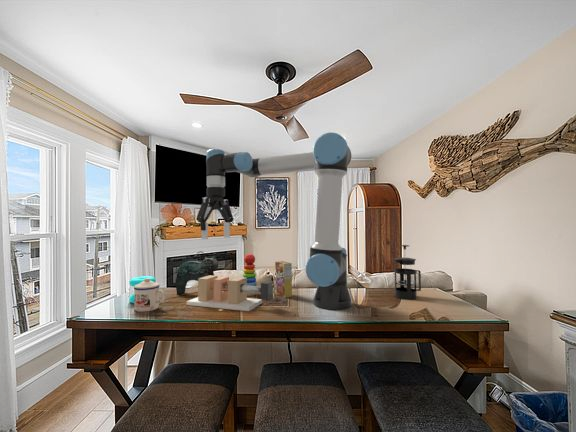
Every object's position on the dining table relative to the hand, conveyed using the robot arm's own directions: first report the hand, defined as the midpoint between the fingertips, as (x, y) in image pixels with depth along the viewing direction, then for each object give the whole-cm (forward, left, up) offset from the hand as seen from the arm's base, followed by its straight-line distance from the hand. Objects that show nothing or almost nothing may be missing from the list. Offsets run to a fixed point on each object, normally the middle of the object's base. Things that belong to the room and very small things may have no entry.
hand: (216, 238), depth 122 cm
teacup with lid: (+20, +15, -27) cm, 37 cm away
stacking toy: (-6, -18, -27) cm, 33 cm away
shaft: (-14, 0, -23) cm, 27 cm away
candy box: (-22, -21, -27) cm, 41 cm away
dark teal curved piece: (+18, -11, -27) cm, 35 cm away
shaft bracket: (-4, 0, -27) cm, 27 cm away
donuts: (+32, +7, -27) cm, 43 cm away
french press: (-75, -35, -27) cm, 87 cm away
